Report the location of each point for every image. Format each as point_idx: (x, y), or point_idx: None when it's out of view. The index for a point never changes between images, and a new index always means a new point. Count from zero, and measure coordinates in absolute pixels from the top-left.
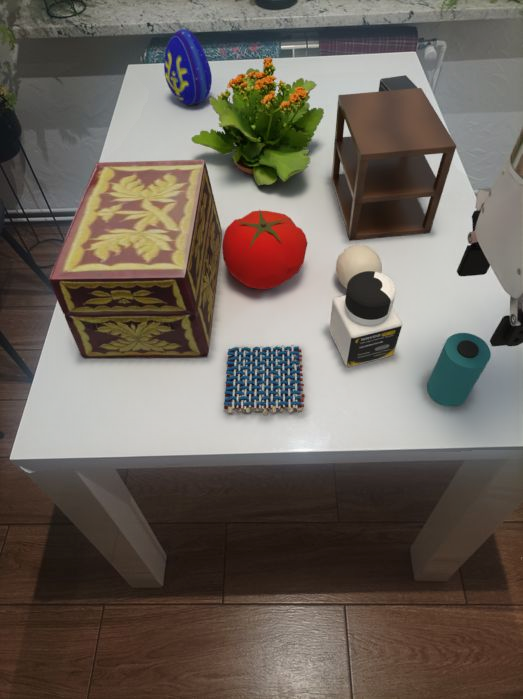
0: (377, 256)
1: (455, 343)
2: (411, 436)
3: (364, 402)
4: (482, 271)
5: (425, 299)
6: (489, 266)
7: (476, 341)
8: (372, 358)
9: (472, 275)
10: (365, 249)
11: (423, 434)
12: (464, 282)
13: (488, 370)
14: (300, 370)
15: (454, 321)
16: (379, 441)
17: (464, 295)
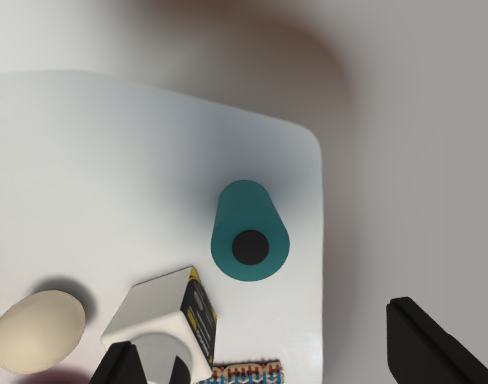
0: (14, 326)
1: (237, 264)
2: (310, 253)
3: (265, 299)
4: (133, 366)
5: (78, 213)
6: (119, 371)
7: (230, 228)
8: (204, 295)
9: (144, 374)
10: (3, 353)
11: (308, 240)
12: (24, 145)
13: (208, 143)
14: (230, 372)
15: (118, 176)
16: (315, 286)
17: (57, 151)
